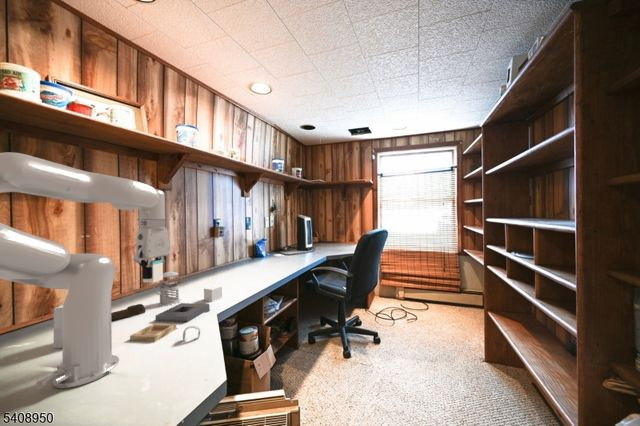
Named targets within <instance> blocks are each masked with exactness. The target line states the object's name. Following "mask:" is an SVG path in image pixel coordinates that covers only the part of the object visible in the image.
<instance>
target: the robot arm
mask: <svg viewBox="0 0 640 426" xmlns="http://www.w3.org/2000/svg"><path fill="white" fill-rule="evenodd" d="M12 192H13V193H21V194H22V193H23V194H28V195H32V196H33V195H34V196H38V197H39V196H40V197H46V198H51V199H58V200H63V201H69V202H74V203H85V204H87V203H88V204H89V203H91V204H96V203H97V204H98V203H103V204H104V203H105V204H106V203H107V204H110V205H111V206H112V207H113V208H115V209H118V210H120V211H132V210H133V211H134V210H138V222H137V226H138V227H139V229H138V230H137V234H136V239H135V240H136V241H135V255H134V257H133V262H136V263H138V265H139V266H140V268H142V280H143V279H151V278H152V267H150V266H151V260H153V259H154V260H163V265H164V264H165V261H166V259H167V258H169V257H170V255H169V254H170V253H171V252H170V251H171V249H170V248H171V246H170V238H169V232H168V228H167V227H166V203H165V202H166V197H165V196H166V195H165V192H164V191H162V190H160V189H155V187H153V186H151V185H149V184H146V183H143V182H141V181H137V180H134V179H131V178H129V179H128V178H123V177H120V176H113V175H108V174H102V173H97V172H92V171H91V172H90V171H86V170H82V169H78V168H75V167H71V166H69V165H64V164H62V163H57V162H54V161H50V160H47V159H44V158H40V157H36V156H32V155H29V154H25V153H22V152H21V153H20V152H12V151H11V152H9V151H8V152H7V151H6V152H0V194H1V193H12ZM146 261H147V262H146ZM115 274H116V266H115V263H114V261H113V260H112V258H110V257H109V256H107V255H104V254H101V253H70V252H69V249H67V248H66V247H65V246H64V245H62V244H61V243H60V242H57V241H53V240H52V239H48V238H44V237H41V236H38V235H34V234H31V233H28V232H25V231H22V230H19V229H16V228H15V227H14V228H13V227H12V226H9V225H7V224H4V223H3V222H0V280H3V281H9V282H13V283H19V284H23V285H28V286H29V285H30V286H34V287H40V288H46V289H50V290H51V289H52V290H53V289H54V290H68V291H67V295H66V296H65V299H64V301H63V304H62V305H63V308H62V348H61V350H62V351H61V353H62V354H61V357H62V358H61V359H62V361H61V363H60V364H57V366H56V370H54V371H53V373H51V374H49V375H46V376H45V377H43V378H41V379H38V380H37V381H36V388H37V389H39V390H41V389H43V388H45V387H47V386H49V385H50V384H53V386H54V387H55V388H58V389H68V388H69V389H70V388H75V387H80V386H82V385H85V384H89V383H92V382H94V381H96V380H98V379H101V378H102V377H103V378H104V377H105V376H106V375H108V374H109V373H110V374H111V370H113V369H114V368H115V367H116V366H117V365H118V364H119V363H120V358H119V356H117V355H114V354H113V352H112V351H113V343H112V342H113V341H112V339H113V338H112V337H113V336H112V333H113V331H112V328H113V327H112V321H111V313H112V290H113V284H114V280H115V276H116V275H115Z"/></svg>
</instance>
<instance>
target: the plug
mask: <svg viewBox="0 0 640 426" xmlns="http://www.w3.org/2000/svg"><path fill="white" fill-rule="evenodd" d="M146 262H147V260H146ZM150 267H152V278H151V279H143V278H142V282H143V283H156V282H157V281H158V282H160V280H161V281H163V280H164V278H163V273H164V264H163V260H155V259H151V266H150Z"/></svg>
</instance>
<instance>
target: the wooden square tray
mask: <svg viewBox="0 0 640 426" xmlns="http://www.w3.org/2000/svg"><path fill="white" fill-rule="evenodd" d="M178 329H179V328H177V324H176V323H175V324H171V323H152V324H150V325H148V326H146V327H144V328H143V329H140V330H138V331H137V332H134V333H133V334H131V335H129V340H128V341H129V342H141V343H156V342H158V341H160V340H161V339H163V338H164V337H166V336H168V335H170V334H172V332H175V331H176V330H178Z"/></svg>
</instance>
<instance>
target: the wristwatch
mask: <svg viewBox="0 0 640 426" xmlns="http://www.w3.org/2000/svg"><path fill="white" fill-rule="evenodd" d="M188 329H195V330H196V329H197V331H198V332H197V333H198V336H197V339H200V335H201V328H200V327H199V326H196V325H189V326H187V327H186V328H185V329H184V330H183V333H182V340H183V341H184V342H187V338H186V334H187V330H188Z"/></svg>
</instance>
